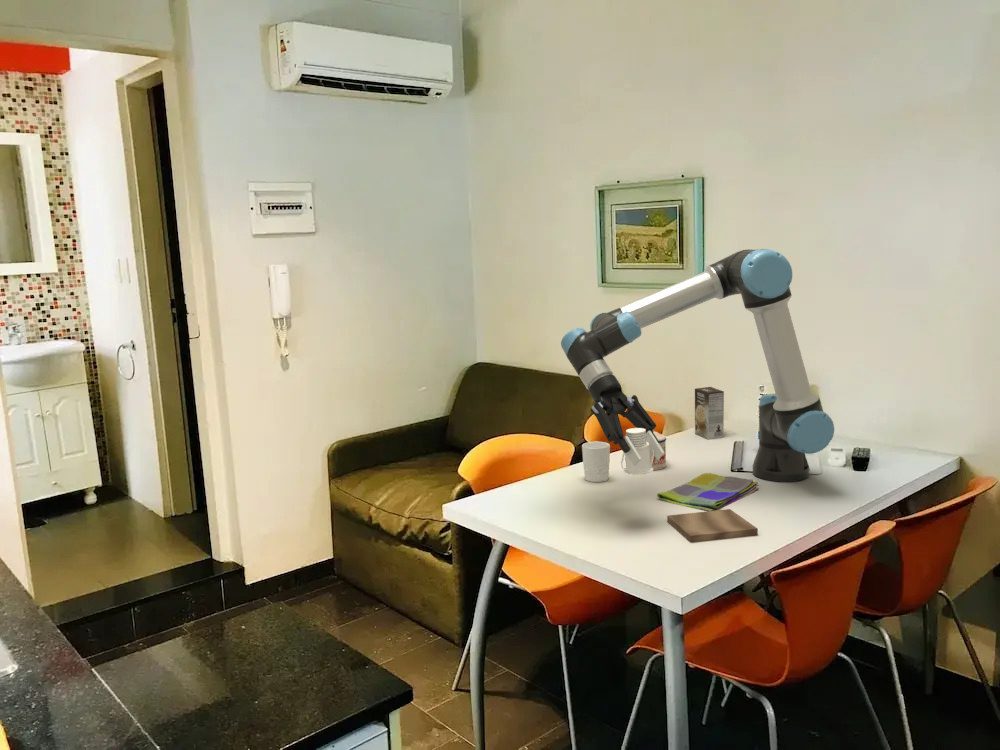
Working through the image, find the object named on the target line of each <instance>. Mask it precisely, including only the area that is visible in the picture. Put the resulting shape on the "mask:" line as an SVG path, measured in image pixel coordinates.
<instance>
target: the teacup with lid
mask: <svg viewBox="0 0 1000 750" xmlns="http://www.w3.org/2000/svg"><path fill="white" fill-rule="evenodd" d="M653 433H654V434H655V436H656V438H657V439H658V441H659V442H658V443H659V445H660V446H661V448H662V449H663V451H664V452H665V453H664V454H663V455H662V456H661V457H660V459H658V460H657V459H656V458H655V456H654V459H653V463H652V467H653V471H659V470H663V469H664V468H666V465H667V464H666V462H667V461H666V460H667V458H666V455H667V454H666V452H667V451H666V448H667V447H666V446H667V445H666V441H667V437H666V435H664V434H662V433H659V432H657V431H655V429H654V430H653ZM652 456H653V453H652V452H651V450H650V464H651V460H652Z"/></svg>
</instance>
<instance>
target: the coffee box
mask: <svg viewBox="0 0 1000 750" xmlns="http://www.w3.org/2000/svg"><path fill="white" fill-rule="evenodd" d="M724 400H725V391H723V390H721V389H718V388H715V387H712V386H707V387H697V388H694V434H695V435H697V436H699V437H701V438H704V439H706V440H714V439H715V440H716V439H722V438H724V430H725V429H724V428H725V427H724V423H725V422H724V419H725V417H724V416H725V415H724V414H725V409H724V407H725V406H724V405H725V401H724Z"/></svg>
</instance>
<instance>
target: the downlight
mask: <svg viewBox="0 0 1000 750" xmlns="http://www.w3.org/2000/svg"><path fill="white" fill-rule="evenodd" d="M625 436H628V438H629V439H630V441H631V442H632V444H633V446H634V447H635V449H636V450H637V452H638V454H639V455H640V457H641V458H642V459H641V460H640V461H639V463H638V464H637V465H635V466H634V465H633V464H632V462H631V461H630V459H629V457H628V456H627V454H626V453H624V452H623V451H622V452H623V453H622V457H621V461H620V466H621V469H623V473H625V474H628V475H646V474H649V473H652V472H653V471H654V470H653V467H652V463H653V459H654V450H653V449H652V450H653V456H652V460H651V464H650V448H649V443H648V442H646V428H645V429H643V428H636V427H634V428H631V427H630V428H628V429H626V430H625ZM624 460H625V467H623V466H624V465H623V462H624Z"/></svg>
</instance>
